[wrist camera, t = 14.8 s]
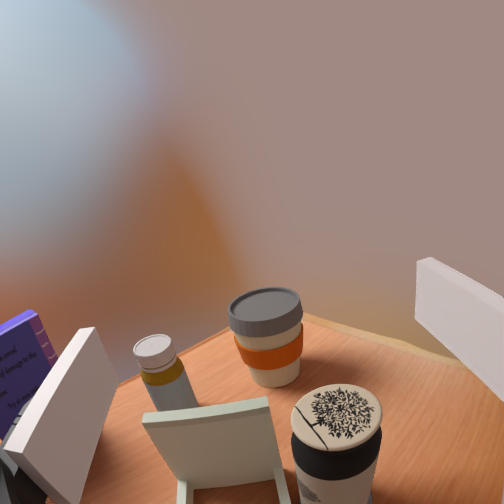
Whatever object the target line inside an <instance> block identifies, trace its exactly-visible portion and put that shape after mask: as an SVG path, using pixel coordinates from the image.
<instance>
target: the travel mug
mask: <svg viewBox="0 0 504 504" xmlns="http://www.w3.org/2000/svg"><path fill="white" fill-rule="evenodd" d="M381 421H382V407H381V404H380V402H379V400H378V399H377V398H376V396H375V395H374V394H372V393H371V392H370V391H368V390H366V389H364V388H362V387H359V386H356V385H351V384H332V385H327V386H323V387H320V388H317V389H315V390H313V391H311V392H309V393H307V394H306V395H305V396H303V397H302V398H301V399H300V400H299V401H298V402H297V404H296V405H295V407H294V408H293V411H292V414H291V426H292V429H293V434H292V438H291V446H292V452H293V458H294V464H295V470H296V476H297V482H298V488H299V494H300V500H301V504H367V502H368V498H369V494H370V490H371V486H372V482H373V478H374V473H375V469H376V464H377V460H378V455H379V450H380V444H381V439H382V431H381V427H380V424H381Z"/></svg>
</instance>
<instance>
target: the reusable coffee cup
mask: <svg viewBox="0 0 504 504" xmlns="http://www.w3.org/2000/svg"><path fill="white" fill-rule="evenodd" d="M302 316H303V310H302V306H301V302H300V298H299V295H298V294H297V293H296V292H295V291H293V290H291V289H287V288H282V287H266V288H260V289H256V290H252V291H248V292H246V293H243V294H241V295H240V296H238V297H236V298H235V299H233V300H232V302H230V304H229V306H228V317H229V325H230V328H231V329H232V331H234V334H235V336H234V339H235V343H236V345H237V347H238V350H239V352H240V355H241V357H242V359H243V361H244V363H245V364H247V366H248V368H249V370H250V373H251V375H252V377H253V380H254V381H255V382H256V383H257V384H259V385H260V386H263V387H268V388H275V387H281V386H284V385H287V384H289V383H291V382H292V381H293V380H295V379H296V377H297V376H298V374H299V371H300V355H301V353H302V350H303V324H302V323H301V319H302Z"/></svg>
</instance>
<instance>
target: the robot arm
mask: <svg viewBox="0 0 504 504" xmlns="http://www.w3.org/2000/svg"><path fill="white" fill-rule="evenodd" d="M415 319H416V320H417V321H418V322H419V323H420V324H421V325H422V326H423V327H425V328H426V329H427V330H428V331H429V332H430V333H431V334H433V336H435V337H436V338H437V339H438V340H439V341H440V342H441V343H442V344H443V345H445V346H446V347H447V348H448V349H449V350H450V351H451V352H452V353H453V354H454V355H456V357H457V358H459V359H460V360H461V361H462V362H463V363H464V364H465V365H466V366H467V367H468V368H469V369H470V370H471V371H472V372H473V373H474V374H475V375H476V376H477V377H479V378H480V379H481V380H482V381H483V382H484V383H485V384H486V385H487V386H488V387H489V388H490V389H491V390H492V391H493V392H494V393H495V394H496V395H497V396H498V397H499V398H500V399H501V400H502V401H503V402H504V297H502V296H500V295H498V294H497V293H495V292H493V291H492V290H490V289H488V288H486V287H485V286H483V285H481V284H479V283H478V282H476V281H474V280H472V279H471V278H469V277H467V276H465V275H463V274H462V273H460V272H458V271H456V270H454V269H452V268H450V267H449V266H447V265H445V264H443V263H441V262H439V261H437V260H436V259H434V258H432V257H429V258H426V259H422V260H418V261H417V283H416V305H415ZM118 384H119V379H118V378H117V375H116V373H115V371H114V369H113V367H112V365H111V363H110V361H109V358H108V356H107V354H106V352H105V349H104V347H103V345H102V343H101V340H100V338H99V336H98V333H97V331H96V328H95V327H91V328H84V329H79V330H78V332H77V333H76V335H75V336H74V337H73V339H72V340H71V342H70V343H69V344H68V346H67V347H66V349H65V350H64V352H63V353H62V354H61V356H60V357H59V359H58V360H57V362H56V363H55V365H54V366H53V368H52V369H51V371H50V372H49V374H48V375H47V377H46V378H45V380H44V381H43V383H42V384H41V386H40V388H39V389H38V391H37V392H36V394H35V396H33V397H32V398H31V399H30V400H29V401H28V402H27V403H26V404H25V405H24V406H23V408H22V409H21V411H20V412H19V414H18V417H16V419H15V421H14V422H13V424H14V425H12V426H11V427H10V429H9V431H8V433H7V434H6V436H5V438H4V440H3V441H2V443H1V445H0V504H46V503H45V501H46V498H47V496H48V497H49V498H50V499H51V500H53V501H54V502H55V503H56V504H79V503H80V500H81V496H82V493H83V489H84V486H85V482H86V479H87V475H88V472H89V469H90V466H91V462H92V459H93V456H94V453H95V450H96V447H97V444H98V440H99V437H100V434H101V432H102V429H103V426H104V423H105V420H106V417H107V414H108V411H109V408H110V406H111V403H112V400H113V397H114V395H115V392H116V389H117V387H118Z"/></svg>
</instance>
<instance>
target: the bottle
mask: <svg viewBox="0 0 504 504" xmlns="http://www.w3.org/2000/svg"><path fill="white" fill-rule="evenodd" d="M133 351H134V355H135V357H136V359H137V362H138V364H139V366H140V368H141V377H142V379H143V382H144V384H145V386H146V388H147V390H148V392H149V394H150V397H151V399H152V401H153V403H154V405H155V407H156V409H157V411H158V412H162V411H172V410H182V409H190V408H198V407H199V405H198V402H197V400H196V397H195V395H194V392H193V390H192V387H191V385H190V382H189V379H188V377H187V374H186V371H185V369H184V366H183V364H182V362H181V360H180V359H179V358H178V357H177V355H176V352H175V349H174V346H173V343H172V341H171V339H170V337H168V336H166V335H163V334H158V335H152V336H148V337H146V338H144V339H142V340H140V341H139V342H138V343H136V345H135V346H134V349H133Z"/></svg>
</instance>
